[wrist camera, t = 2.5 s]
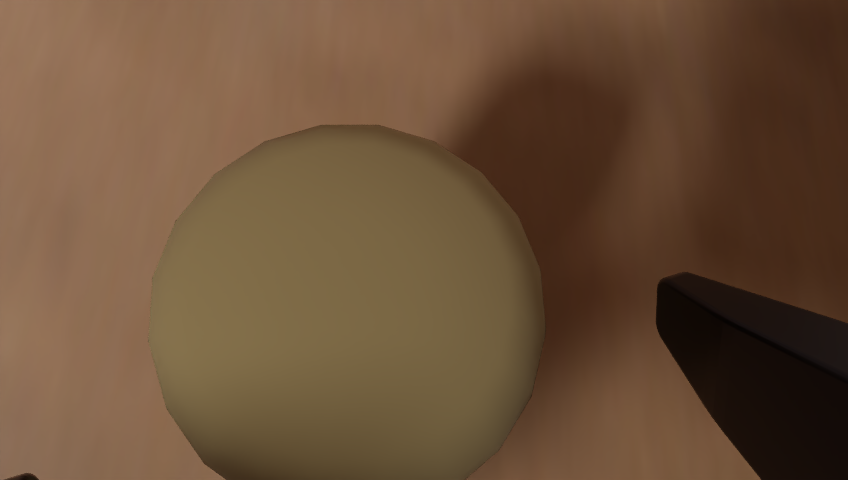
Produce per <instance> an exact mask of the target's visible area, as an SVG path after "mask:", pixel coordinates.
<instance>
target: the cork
mask: <svg viewBox="0 0 848 480" xmlns="http://www.w3.org/2000/svg"><path fill="white" fill-rule="evenodd" d="M545 333H546V325H545V314H544V303H543V291H542V280H541V270H540V267H539V265H538V263H537V260H536V258H535V255H534V253H533V251H532V248H531V246H530V243H529V241H528V239H527V236H526V234H525V231H524V229H523V227H522V224H521V222H520V219H519V217H518V215H517V214H516V213H515V212H514V211H513V209H512V208H511V207H510V206H509V205H508V204H507V202H506V201H505V200H504V199H503V198H502V196H501V195H500V194H499V193H498V192H497V190H496V189H495V188H494V187H493V186H492V184H491V183H490V182H489V181H488V180H487V178H486V177H485V176H484V175H483V174H482V173H481V172H480V171H479V170H477V169H476V168H474V167H472V166H471V165H469V164H468V163H466V162H465V161H463V160H462V159H460V158H459V157H457V156H456V155H454V154H452V153H451V152H449V151H448V150H446V149H445V148H443V147H442V146H440V145H439V144H437V143H436V142H434V141H431V140H428V139H425V138H421V137H418V136H414V135H411V134H408V133H404V132H401V131H398V130H394V129H391V128H387V127H384V126H381V125H319V126H316V127H312V128H309V129H305V130H302V131H299V132H295V133H292V134H289V135H285V136H282V137H278V138H275V139H272V140H268V141H265V142H263V143H262V144H260V145H259V146H257V147H256V148H254V149H252V150H251V151H249V152H248V153H246V154H245V155H243V156H242V157H240V158H239V159H237V160H236V161H234V162H233V163H231V164H229V165H228V166H226V167H225V168H223V169H222V170H220V171H219V172H217V173H216V174H214V176H213V177H212V178H211V179H210V180H209V182H208V183H207V184H206V185H205V186H204V188H203V189H202V190H201V191H200V192H199V194H198V195H197V196H196V197H195V198H194V200H193V201H192V202H191V203H190V204H189V206H188V207H187V208H186V209H185V210H184V212H183V213H182V214H181V215H180V216H179V218H178V219H177V220H176V222H175V224H174V227H173V229H172V231H171V234H170V236H169V239H168V241H167V244H166V246H165V249H164V251H163V253H162V256H161V258H160V261H159V263H158V266H157V268H156V271H155V273H154V275H153V278H152V293H151V307H150V322H149V337H148V342H149V346H150V349H151V353H152V357H153V360H154V364H155V368H156V372H157V375H158V379H159V383H160V386H161V390H162V394H163V398H164V401H165V405H166V408H167V410H168V412H169V413H170V415H171V416H172V418H173V419H174V420H175V422H176V423H177V425H178V426H179V428H180V429H181V431H182V432H183V434H184V435H185V436H186V438H187V439H188V441H189V442H190V444H191V445H192V447H193V448H194V450H195V451H196V452H197V454H198V455H199V457H200V458H201V460H202V461H203V463H204V464H205V465H207V466H208V467H210V468H211V469H212V470H214V471H215V472H216V473H218V474H219V475H221V476H222V477H223V478H225V479H226V480H465V479H466V478H467V477H468V476H470V475H471V474H472V473H473V472H474V471H475V470H477V469H478V468H479V467H480V466H481V465H482V464H484V463H485V462H486V461H487V460H488V459H489V458H491V457H492V456H493V455H494V454H495V453H496V452H497V451H499V449H500V448H501V446H502V444H503V443H504V441H505V439H506V438H507V436H508V434H509V433H510V431H511V429H512V428H513V426H514V424H515V423H516V421H517V419H518V418H519V416H520V414H521V413H522V411H523V409H524V408H525V406H526V404H527V403H528V401H529V399H530V398H531V396H532V391H533V387H534V383H535V378H536V374H537V369H538V365H539V361H540V356H541V352H542V348H543V343H544V339H545Z"/></svg>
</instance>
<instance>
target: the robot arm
mask: <svg viewBox="0 0 848 480" xmlns="http://www.w3.org/2000/svg"><path fill="white" fill-rule="evenodd" d="M656 325H657V329H658V332H659V335H660V337H661V338H662V340H663V342H664V343H665V345H666V346H667V348H668V350H669V351H670V353H671V354H672V356H673V357H674V359H675V361H676V362H677V364H678V365H679V367H680V368H681V370H682V372H683V373H684V375H685V376H686V378H687V379H688V381H689V383H690V384H691V386H692V387H693V389H694V390H695V392H696V394H697V395H698V397H699V398H700V400H701V401H702V403H703V405H704V406H705V408H706V409H707V411H708V412H709V413H710V415H711V416H712V418H713V419H714V420H715V422H716V423H717V424H718V426H719V427H720V428H721V430H722V431H723V432H724V433H725V435H726V436H727V437H728V439H729V440H730V441H731V442H732V444H733V445H734V446H735V447H736V449H737V450H738V451H739V452H740V454H741V455H742V456H743V457H744V459H745V460H746V461H747V462H748V464H749V465H750V466H751V467H752V469H753V470H754V471H755V472H756V474H757V475H758V476H759V477H760V479H761V480H848V323H845V322H842V321H839V320H836V319H833V318H830V317H826V316H823V315H820V314H817V313H814V312H811V311H808V310H804V309H801V308H798V307H795V306H792V305H789V304H786V303H783V302H779V301H776V300H773V299H770V298H767V297H764V296H761V295H757V294H754V293H751V292H748V291H745V290H742V289H739V288H735V287H732V286H729V285H726V284H723V283H720V282H717V281H714V280H710V279H707V278H704V277H701V276H698V275H695V274H692V273H688V272H682V273H678V274H675V275H671V276H668V277H665V278H663V279H661V280H660V281H659V283H658V287H657V306H656ZM5 480H39V479H38V478H37V477H36V476H35V475H33V474H31V473H24V474H21V475H18V476H14V477H11V478H8V479H5Z"/></svg>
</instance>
